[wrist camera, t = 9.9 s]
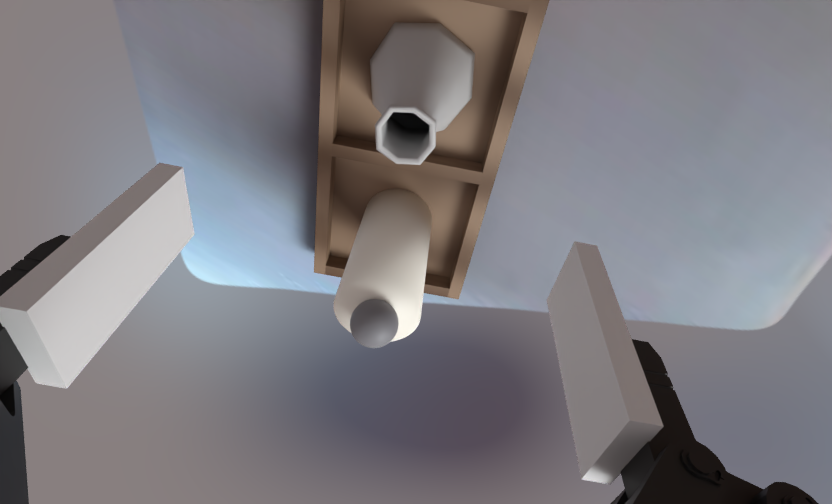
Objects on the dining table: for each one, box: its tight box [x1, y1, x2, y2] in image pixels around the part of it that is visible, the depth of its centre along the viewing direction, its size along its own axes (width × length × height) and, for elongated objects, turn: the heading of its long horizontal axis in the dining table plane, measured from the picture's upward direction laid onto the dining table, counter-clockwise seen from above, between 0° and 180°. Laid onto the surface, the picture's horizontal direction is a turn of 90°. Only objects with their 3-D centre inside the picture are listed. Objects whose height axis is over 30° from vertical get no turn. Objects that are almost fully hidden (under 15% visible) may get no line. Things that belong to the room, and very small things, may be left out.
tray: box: [314, 0, 549, 299], centre depth 34 cm, size 24×13×2 cm, turn 171°
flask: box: [370, 22, 475, 165], centre depth 27 cm, size 7×7×10 cm
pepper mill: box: [334, 189, 432, 348], centre depth 32 cm, size 6×6×14 cm
